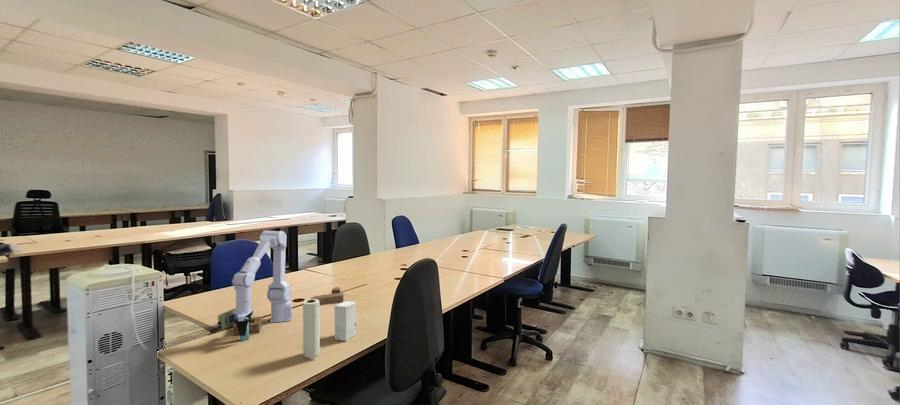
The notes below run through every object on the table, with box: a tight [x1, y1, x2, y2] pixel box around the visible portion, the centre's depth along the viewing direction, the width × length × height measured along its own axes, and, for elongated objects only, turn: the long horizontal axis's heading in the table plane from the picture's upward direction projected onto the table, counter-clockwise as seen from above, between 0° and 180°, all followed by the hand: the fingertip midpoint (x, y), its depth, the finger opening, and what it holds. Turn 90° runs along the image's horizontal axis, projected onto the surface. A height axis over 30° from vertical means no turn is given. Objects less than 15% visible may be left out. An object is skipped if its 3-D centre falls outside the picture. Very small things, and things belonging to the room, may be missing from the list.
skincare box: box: [334, 300, 357, 342], centre depth 169 cm, size 8×6×15 cm
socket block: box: [233, 316, 263, 337], centre depth 175 cm, size 10×10×4 cm
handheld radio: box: [209, 305, 253, 334], centre depth 182 cm, size 7×3×25 cm
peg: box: [239, 317, 250, 342], centre depth 165 cm, size 3×3×9 cm
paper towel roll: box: [302, 298, 321, 360], centre depth 151 cm, size 7×6×21 cm
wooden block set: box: [310, 286, 344, 306], centre depth 220 cm, size 17×6×18 cm
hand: (244, 331), depth 165 cm, fingers open, 7 cm apart
